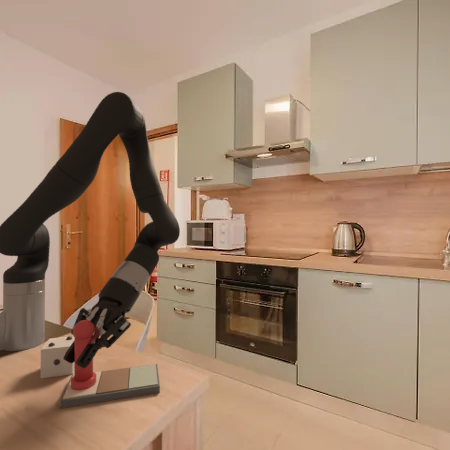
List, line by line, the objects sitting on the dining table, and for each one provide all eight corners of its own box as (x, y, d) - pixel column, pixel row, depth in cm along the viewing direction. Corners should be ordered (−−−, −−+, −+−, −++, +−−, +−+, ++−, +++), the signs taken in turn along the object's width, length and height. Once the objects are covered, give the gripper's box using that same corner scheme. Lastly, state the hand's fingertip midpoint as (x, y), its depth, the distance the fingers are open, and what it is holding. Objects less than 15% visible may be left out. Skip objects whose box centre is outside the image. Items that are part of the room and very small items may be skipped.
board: (59, 408, 50) (59, 400, 50) (71, 381, 58) (71, 374, 58) (159, 392, 54) (159, 384, 54) (157, 369, 63) (157, 363, 63)
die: (39, 379, 59) (39, 347, 59) (49, 364, 65) (49, 335, 65) (71, 375, 60) (71, 344, 60) (78, 361, 67) (78, 333, 67)
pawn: (68, 392, 52) (68, 325, 52) (73, 379, 56) (73, 317, 56) (94, 388, 53) (94, 323, 53) (97, 376, 57) (98, 315, 57)
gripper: (94, 273, 65) (37, 347, 54) (139, 279, 58) (85, 364, 47) (113, 291, 69) (64, 363, 59) (157, 299, 63) (111, 381, 52)
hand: (74, 363), depth 53 cm, fingers closed on pawn, 3 cm apart
